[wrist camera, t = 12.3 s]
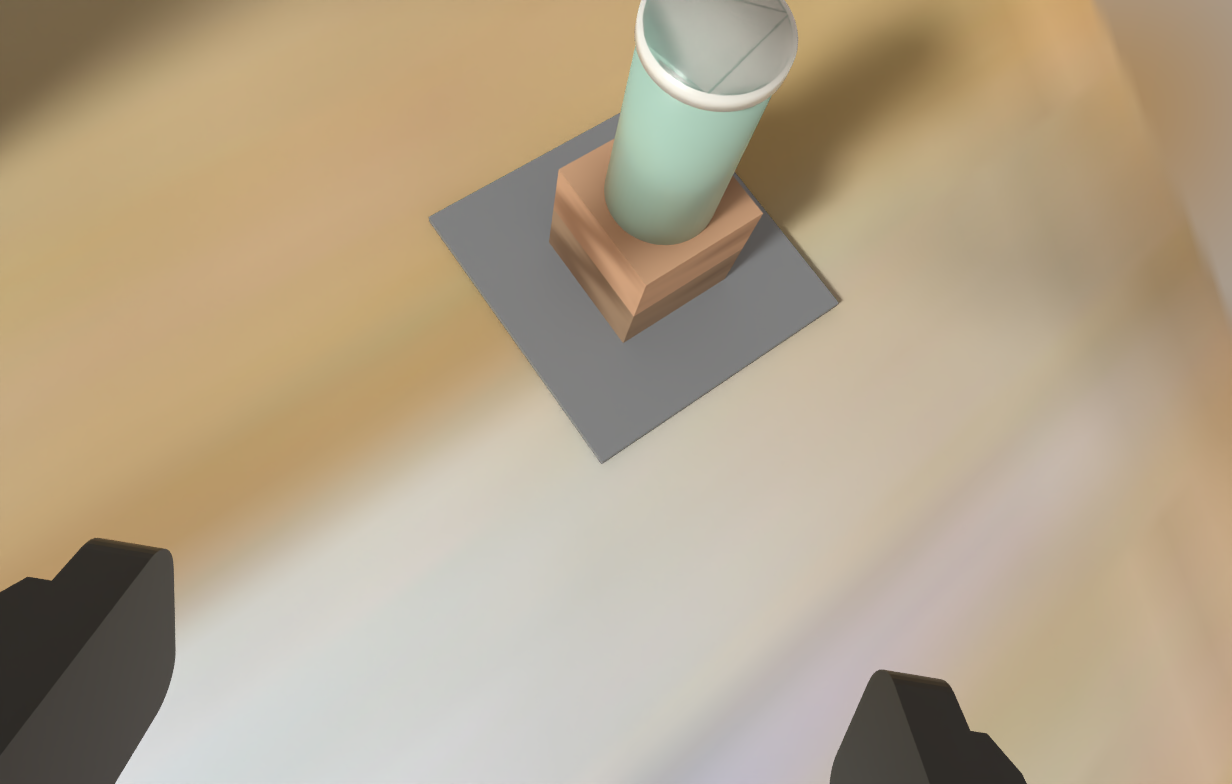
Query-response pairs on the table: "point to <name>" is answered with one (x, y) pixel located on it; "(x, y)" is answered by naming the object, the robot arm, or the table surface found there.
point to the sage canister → (692, 109)
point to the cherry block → (635, 263)
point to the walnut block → (609, 299)
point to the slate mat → (580, 335)
